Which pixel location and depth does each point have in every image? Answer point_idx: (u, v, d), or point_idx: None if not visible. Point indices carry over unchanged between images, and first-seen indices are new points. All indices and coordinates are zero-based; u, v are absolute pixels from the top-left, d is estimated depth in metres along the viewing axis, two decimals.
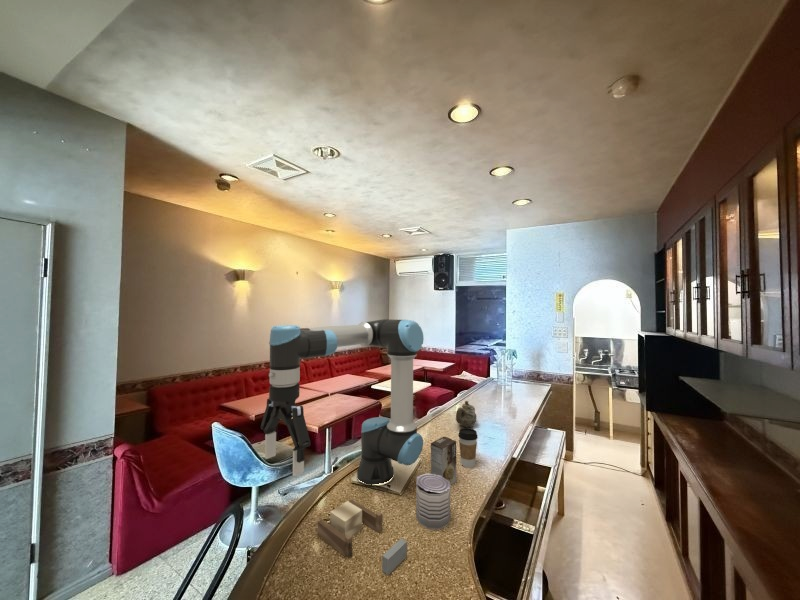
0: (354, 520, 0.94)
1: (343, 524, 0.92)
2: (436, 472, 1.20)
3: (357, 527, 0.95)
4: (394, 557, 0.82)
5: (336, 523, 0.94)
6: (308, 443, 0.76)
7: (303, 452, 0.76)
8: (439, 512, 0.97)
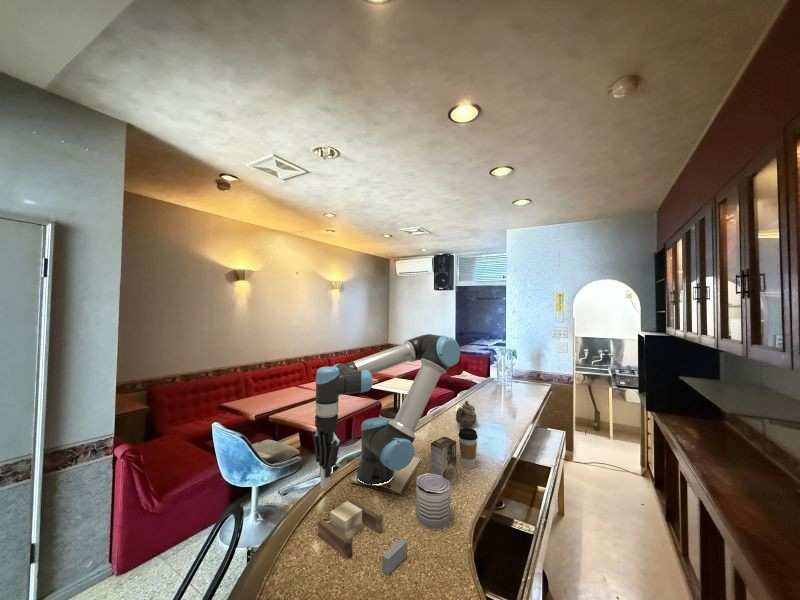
0: (354, 520, 0.94)
1: (343, 524, 0.92)
2: (436, 472, 1.20)
3: (357, 527, 0.95)
4: (394, 557, 0.82)
5: (336, 523, 0.94)
6: (334, 464, 1.01)
7: (330, 470, 1.02)
8: (439, 513, 0.97)
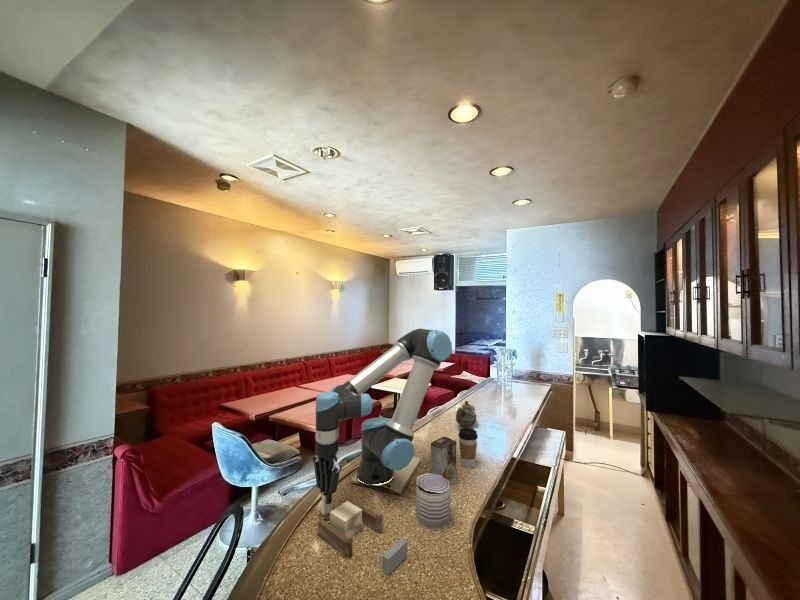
0: (354, 520, 0.94)
1: (343, 524, 0.92)
2: (436, 472, 1.20)
3: (357, 527, 0.96)
4: (394, 557, 0.82)
5: (336, 523, 0.94)
6: (335, 491, 1.01)
7: (330, 496, 1.02)
8: (439, 513, 0.97)
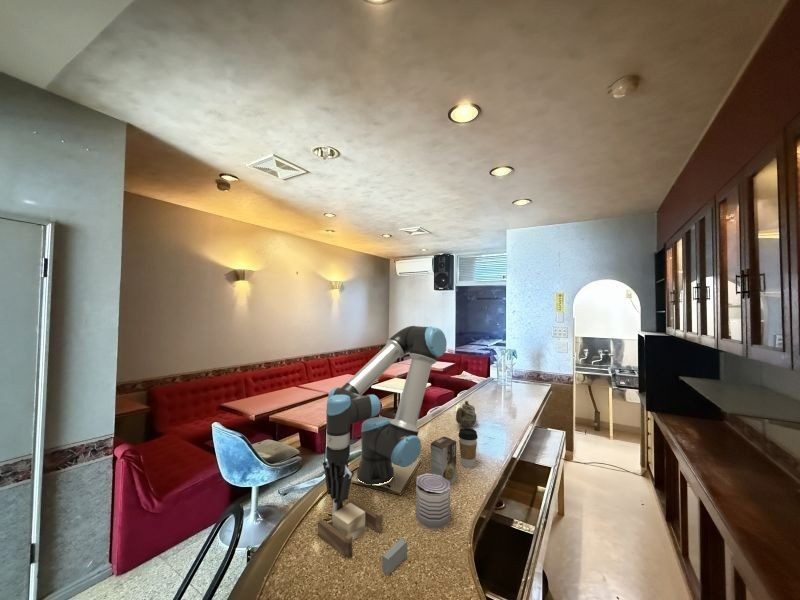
0: (357, 522, 0.93)
1: (346, 526, 0.91)
2: (436, 472, 1.20)
3: (360, 529, 0.94)
4: (394, 557, 0.82)
5: (339, 525, 0.93)
6: (346, 498, 0.97)
7: (342, 503, 0.98)
8: (439, 513, 0.97)
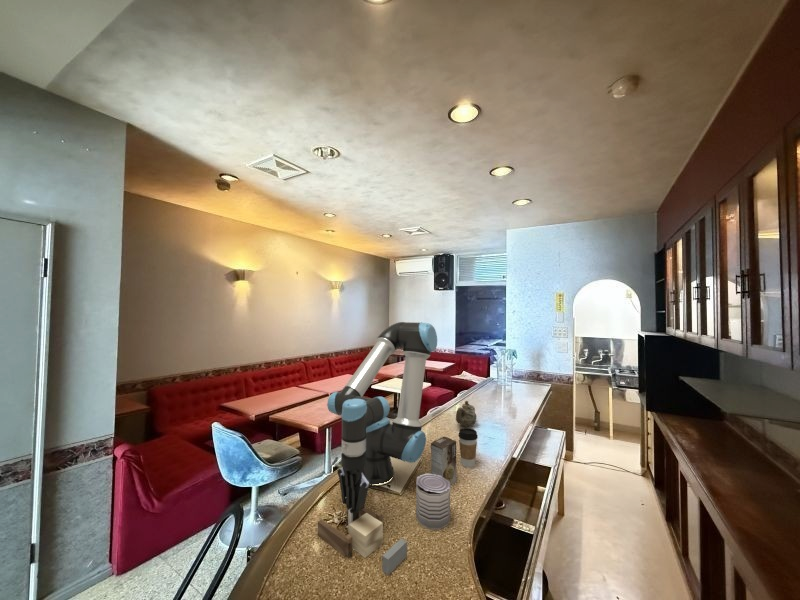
0: (374, 534, 0.88)
1: (363, 539, 0.86)
2: (436, 472, 1.20)
3: (378, 541, 0.89)
4: (394, 557, 0.82)
5: (356, 537, 0.88)
6: (363, 508, 0.93)
7: (358, 513, 0.93)
8: (439, 513, 0.97)
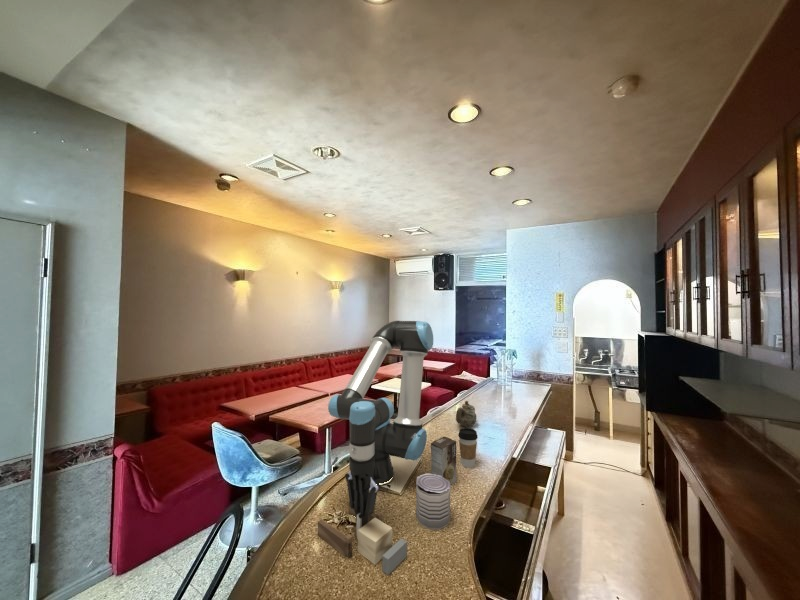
0: (384, 540, 0.86)
1: (373, 545, 0.84)
2: (436, 472, 1.20)
3: (387, 547, 0.87)
4: (394, 557, 0.82)
5: (365, 543, 0.86)
6: (371, 513, 0.90)
7: (367, 518, 0.91)
8: (439, 513, 0.97)
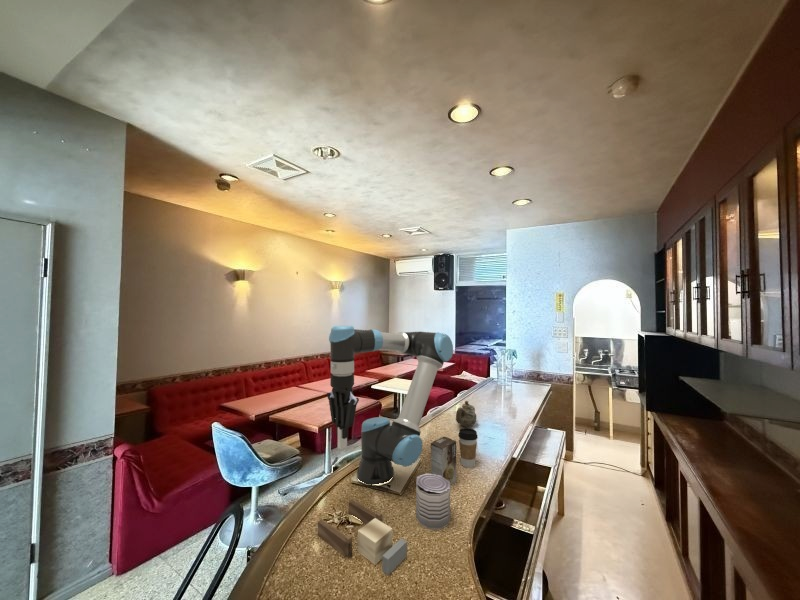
0: (384, 541, 0.86)
1: (373, 545, 0.84)
2: (436, 472, 1.20)
3: (388, 548, 0.87)
4: (394, 557, 0.82)
5: (365, 543, 0.86)
6: (351, 425, 0.98)
7: (347, 431, 0.98)
8: (439, 513, 0.97)
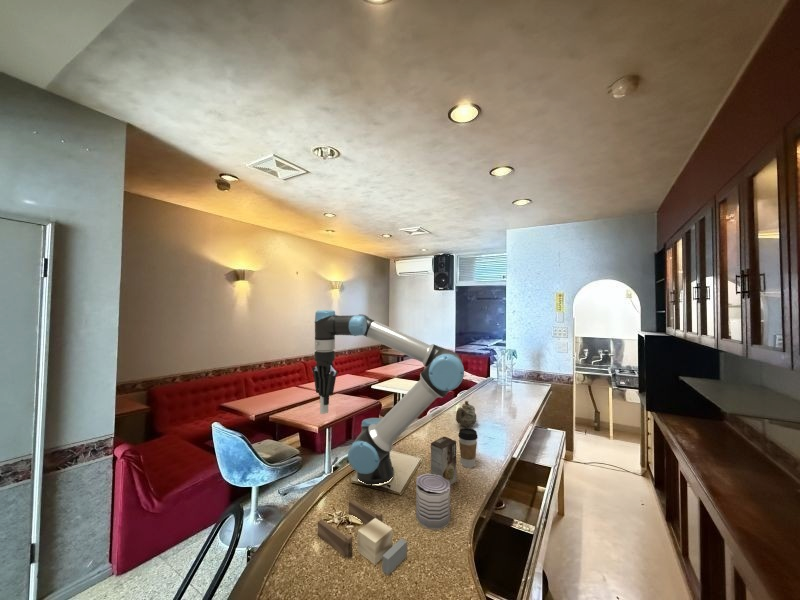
0: (384, 541, 0.86)
1: (373, 545, 0.84)
2: (436, 472, 1.20)
3: (388, 548, 0.87)
4: (394, 557, 0.82)
5: (365, 543, 0.86)
6: (331, 393, 1.16)
7: (328, 398, 1.16)
8: (439, 512, 0.97)
